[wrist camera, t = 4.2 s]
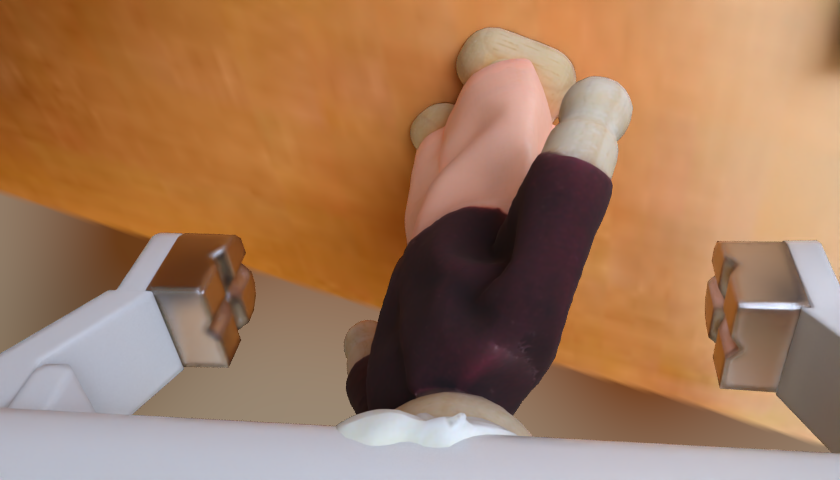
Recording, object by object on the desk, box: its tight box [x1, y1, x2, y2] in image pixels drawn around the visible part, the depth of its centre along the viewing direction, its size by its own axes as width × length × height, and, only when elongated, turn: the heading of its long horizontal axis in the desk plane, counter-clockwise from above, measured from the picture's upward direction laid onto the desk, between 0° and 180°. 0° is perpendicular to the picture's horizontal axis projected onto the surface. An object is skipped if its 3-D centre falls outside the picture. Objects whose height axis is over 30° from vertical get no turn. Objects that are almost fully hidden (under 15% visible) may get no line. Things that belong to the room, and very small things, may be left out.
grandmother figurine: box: [336, 27, 633, 448], centre depth 13 cm, size 8×4×13 cm, turn 159°
